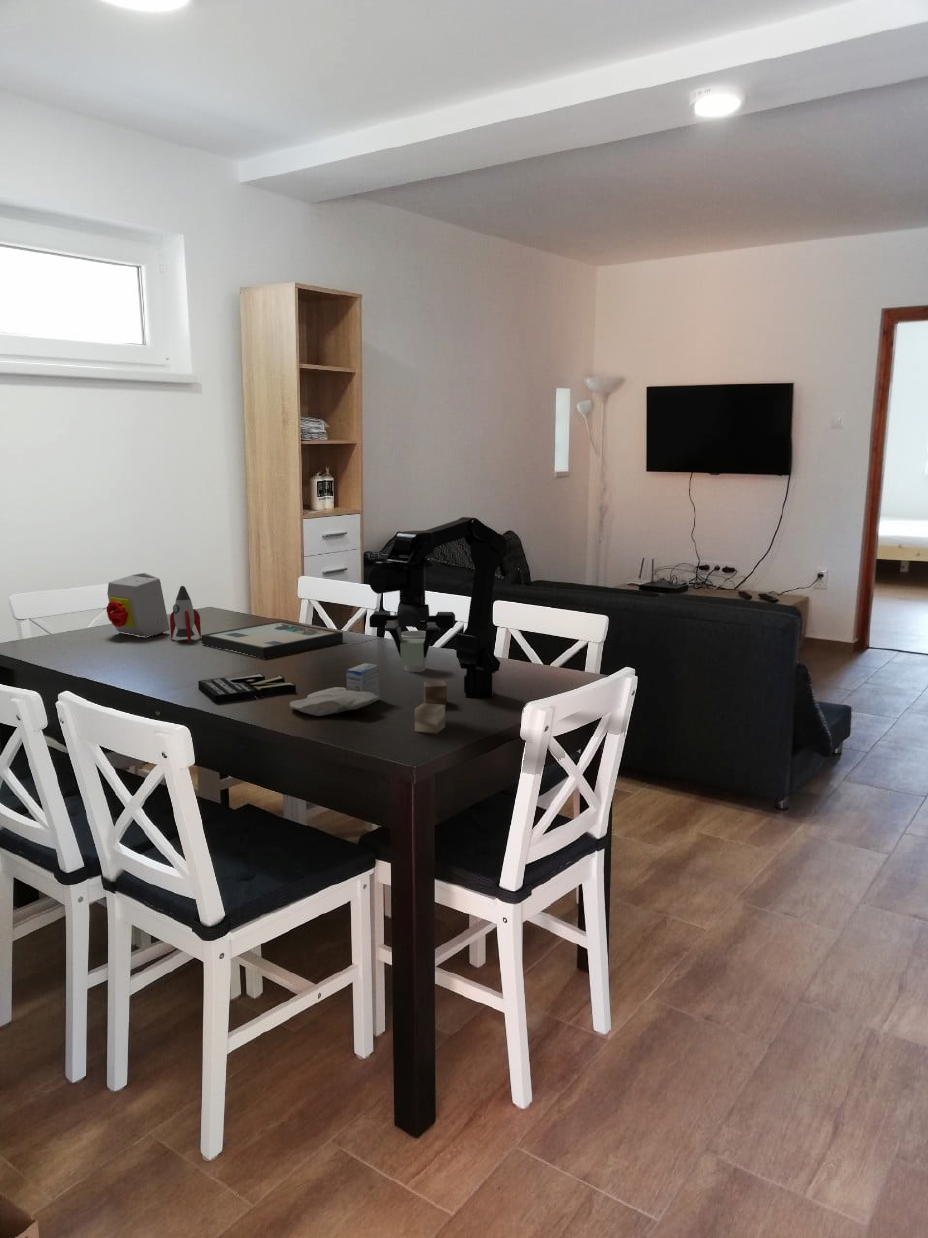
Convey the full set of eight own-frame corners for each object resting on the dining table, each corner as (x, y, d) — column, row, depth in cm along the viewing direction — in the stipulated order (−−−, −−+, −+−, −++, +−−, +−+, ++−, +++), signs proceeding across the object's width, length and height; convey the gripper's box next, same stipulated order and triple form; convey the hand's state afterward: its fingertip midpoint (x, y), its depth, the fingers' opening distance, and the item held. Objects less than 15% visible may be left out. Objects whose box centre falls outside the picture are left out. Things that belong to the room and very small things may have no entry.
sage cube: (425, 660, 214) (425, 638, 213) (423, 665, 209) (422, 643, 208) (403, 660, 214) (403, 638, 213) (400, 665, 209) (400, 643, 208)
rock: (330, 729, 203) (383, 709, 213) (327, 709, 202) (381, 690, 212) (276, 717, 218) (328, 699, 228) (273, 698, 217) (325, 680, 227)
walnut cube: (444, 701, 224) (444, 680, 223) (446, 706, 219) (446, 685, 218) (423, 701, 223) (423, 681, 222) (425, 707, 218) (425, 686, 218)
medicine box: (364, 697, 227) (363, 662, 225) (380, 699, 225) (379, 664, 223) (346, 705, 220) (345, 669, 218) (362, 708, 218) (362, 671, 216)
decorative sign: (197, 680, 236) (274, 671, 245) (198, 690, 236) (274, 680, 246) (215, 695, 221) (296, 685, 231) (216, 706, 222) (297, 695, 231)
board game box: (342, 632, 290) (263, 648, 267) (343, 644, 291) (263, 661, 268) (280, 621, 310) (201, 635, 287) (280, 632, 310) (202, 647, 288)
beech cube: (445, 727, 203) (444, 705, 202) (436, 733, 198) (436, 711, 197) (423, 725, 205) (423, 703, 204) (414, 731, 200) (414, 709, 199)
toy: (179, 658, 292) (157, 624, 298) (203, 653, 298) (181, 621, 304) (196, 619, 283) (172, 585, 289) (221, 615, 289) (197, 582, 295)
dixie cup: (397, 666, 258) (397, 631, 257) (427, 665, 260) (427, 629, 258) (402, 673, 250) (401, 637, 248) (432, 672, 252) (432, 635, 250)
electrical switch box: (103, 643, 302) (90, 583, 296) (142, 628, 313) (130, 571, 307) (131, 648, 293) (118, 587, 287) (170, 633, 305) (159, 574, 299)
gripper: (364, 593, 201) (365, 664, 204) (450, 594, 200) (451, 666, 203) (373, 586, 212) (374, 653, 215) (455, 586, 211) (455, 654, 214)
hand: (413, 657), depth 211 cm, fingers closed on sage cube, 5 cm apart
